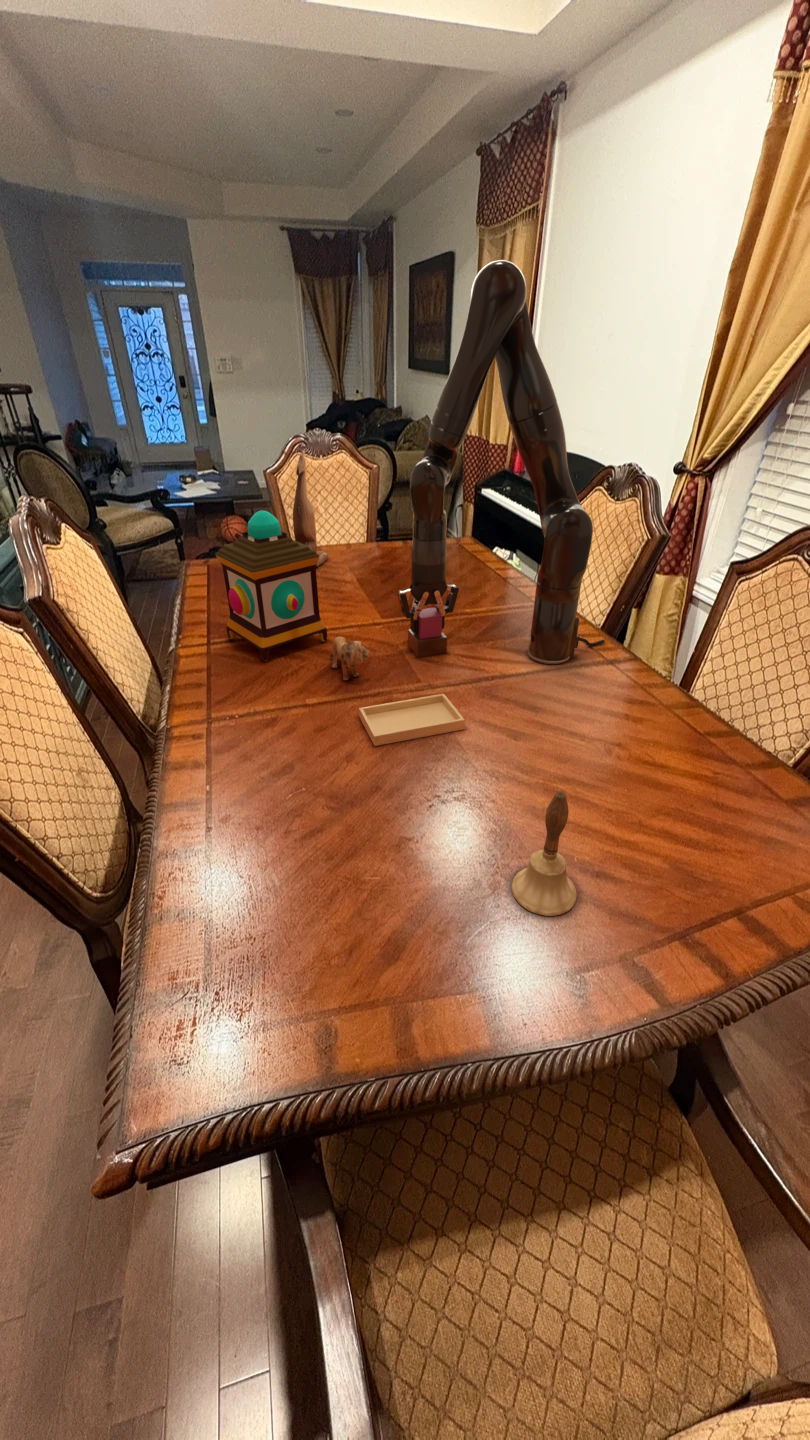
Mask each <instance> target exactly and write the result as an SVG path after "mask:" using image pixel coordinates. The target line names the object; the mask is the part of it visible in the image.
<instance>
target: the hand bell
mask: <svg viewBox="0 0 810 1440" xmlns="http://www.w3.org/2000/svg"><path fill="white" fill-rule="evenodd" d="M546 807H547V808H546V811H545V819H544V823H545V830H546V836H545V841H544V845H543V849H539V850H537V851H535V852H533V854H531V857H530V858H529V863H528V865H527V867H524V868H523V869H521V870H519V872H517V873H516V874H515V875H514V877H513V879H512V881H511V892H512V895H513V897H514V898H515V900H516V901H517V902H518V904H519V905H520V906H521V907H523V908H524V909H525V910H527V911H529V912H531V913H533V914H536V915H541V916H546V917H547V916H548V917H551V916H552V917H553V916H554V917H555V916H559V915H562V914H565V913H567V912H569V911H570V910H571V909H572V908H573V907H574V906H575V904H576V901H577V897H578V895H577V890H576V886H575V884H574V883H573V881H572V880H571V878H570V877H569V876H568V875H567V862H566V859H565V858H564V857H563V855H562V854H560V853H559V852H558V851H559V843H560V836H561V835H562V833H563V831H564V829H566V826H567V822H568V819H569V804H568V800H567V793H565V792H564V791H562V790H557V791H555V793H554V796H553V797H552V799H551V800H550V802H549V803H548V805H547V806H546Z"/></svg>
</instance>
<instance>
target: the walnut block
mask: <svg viewBox="0 0 810 1440" xmlns="http://www.w3.org/2000/svg"><path fill="white" fill-rule="evenodd" d="M407 646H408V648H410V650H411V651H412V652H413V654H414V655H415V656H416V657H417V658H425V657H432V656H437V655H444V654H447V652H448V651H447V650H448V637H447V635H445V633H444V632H442V634H441V636H438V637H431V638H424V639H420V637H419V636H418V635H415V634H414V633H413V632H412V631H411V629H410V628H408V629H407Z"/></svg>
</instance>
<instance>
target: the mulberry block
mask: <svg viewBox="0 0 810 1440" xmlns="http://www.w3.org/2000/svg"><path fill="white" fill-rule="evenodd" d="M418 620H419V634H418V636H419V637H420V639H424V638H431V637H438V636H441V634H442V633H443V629H442V615H441V614H440V613H439V612H438V611H437V609H436V607H429V608H428V607H427V608H423V610H422V611H421V612H420V615H419V617H418Z"/></svg>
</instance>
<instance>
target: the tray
mask: <svg viewBox="0 0 810 1440" xmlns="http://www.w3.org/2000/svg"><path fill="white" fill-rule="evenodd" d="M358 712H359V719H360V721H361V723H362V725H363V726H364V729H365V731H366V732H367V735H368V736H369V739H370V740H371V742H372V745H373V746H374V747H377V746H382V745H383V746H384V745H388V744H392V743H397V742H404V741H410V740H414V739H415V740H416V739H419V738H426V737H430V736H435V735H436V736H437V735H441V734H446V733H452V732H456V731H461V730H465V722H466V721H465V718H464V717H463V716H462V714H461V713H460V712H459V711H458V709H457V708H456V707H455V705H453V703H452V702H451V700H450V699H449V698H448V696H447V695H446V694H445V693H439V694H433V695H428V696H427V695H426V696H421V697H416V698H410V699H403V700H398V701H393V702H392V701H391V702H386V703H380V704H374V705H369V706H363V707H359V708H358Z"/></svg>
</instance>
